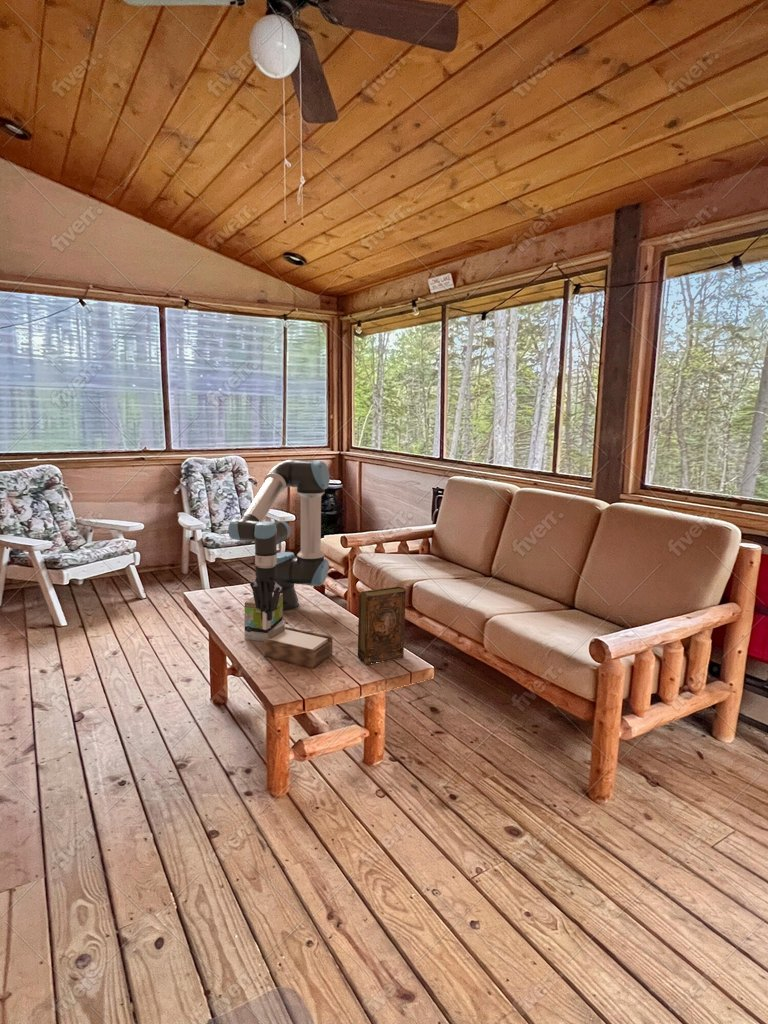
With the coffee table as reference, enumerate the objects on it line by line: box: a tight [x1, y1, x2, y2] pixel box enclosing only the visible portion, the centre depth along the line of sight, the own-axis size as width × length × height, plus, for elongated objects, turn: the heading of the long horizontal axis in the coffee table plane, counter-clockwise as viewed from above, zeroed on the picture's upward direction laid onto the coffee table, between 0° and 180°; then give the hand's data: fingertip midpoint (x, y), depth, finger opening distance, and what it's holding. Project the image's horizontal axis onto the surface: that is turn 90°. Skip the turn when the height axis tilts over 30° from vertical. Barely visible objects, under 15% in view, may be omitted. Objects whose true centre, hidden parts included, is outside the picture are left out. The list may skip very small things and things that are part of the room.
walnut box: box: [263, 626, 334, 670], centre depth 207 cm, size 20×13×7 cm, turn 65°
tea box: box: [243, 592, 284, 642], centre depth 226 cm, size 15×10×15 cm, turn 168°
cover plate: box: [268, 623, 328, 651], centre depth 207 cm, size 18×11×4 cm, turn 65°
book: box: [357, 586, 407, 666], centre depth 205 cm, size 16×6×25 cm, turn 118°
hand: (266, 628), depth 212 cm, fingers closed
